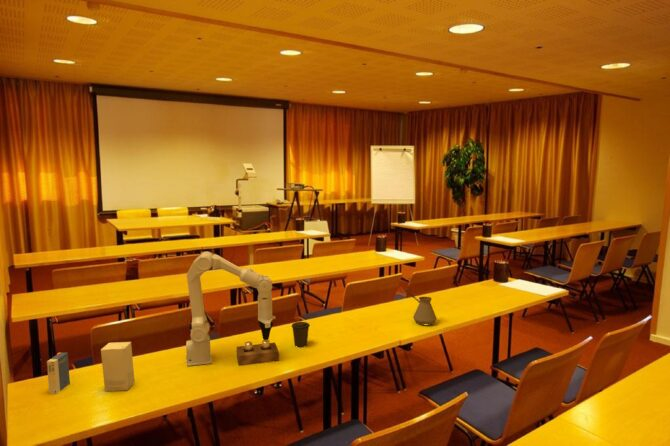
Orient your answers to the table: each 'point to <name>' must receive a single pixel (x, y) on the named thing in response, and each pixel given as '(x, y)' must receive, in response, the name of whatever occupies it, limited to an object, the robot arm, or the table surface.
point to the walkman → (58, 373)
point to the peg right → (265, 345)
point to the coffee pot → (423, 310)
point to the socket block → (257, 354)
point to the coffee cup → (300, 333)
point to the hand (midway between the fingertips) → (265, 339)
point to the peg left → (248, 346)
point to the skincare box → (117, 366)
